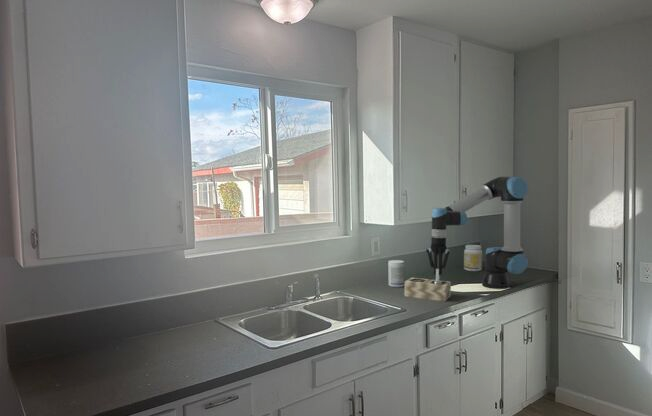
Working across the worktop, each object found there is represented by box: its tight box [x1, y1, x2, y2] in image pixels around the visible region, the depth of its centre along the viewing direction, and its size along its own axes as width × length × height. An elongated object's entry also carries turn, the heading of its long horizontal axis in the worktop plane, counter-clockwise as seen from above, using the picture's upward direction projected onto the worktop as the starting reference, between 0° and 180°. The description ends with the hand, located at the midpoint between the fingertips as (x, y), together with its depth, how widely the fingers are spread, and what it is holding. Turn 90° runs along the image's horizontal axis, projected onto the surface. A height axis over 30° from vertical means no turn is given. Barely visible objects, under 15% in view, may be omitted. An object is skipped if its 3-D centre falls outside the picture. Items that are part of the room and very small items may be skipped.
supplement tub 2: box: [463, 244, 483, 272], centre depth 323 cm, size 12×12×17 cm
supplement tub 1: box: [387, 259, 406, 288], centre depth 275 cm, size 10×10×15 cm
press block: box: [403, 277, 452, 302], centre depth 251 cm, size 22×12×8 cm, turn 62°
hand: (437, 280), depth 248 cm, fingers closed
